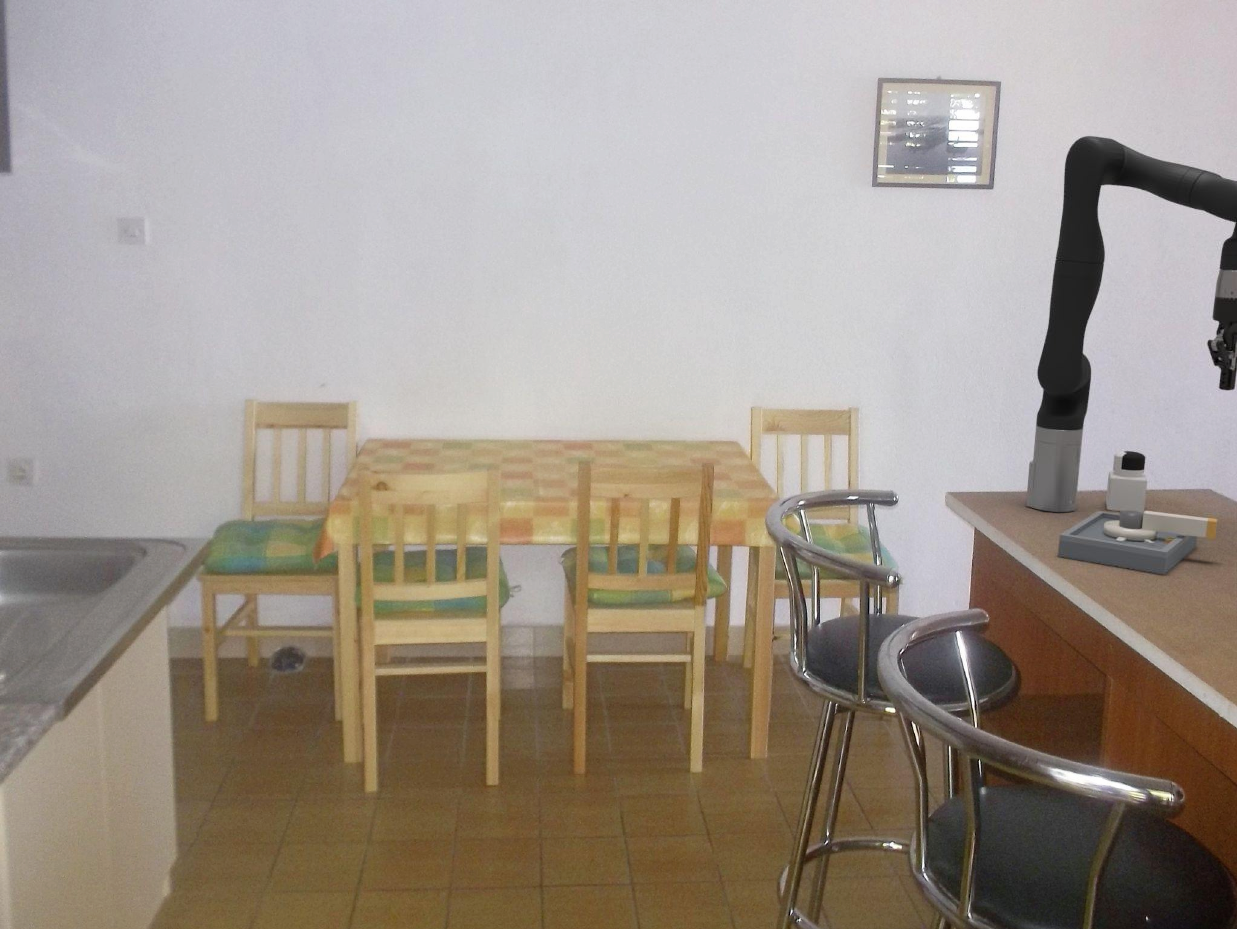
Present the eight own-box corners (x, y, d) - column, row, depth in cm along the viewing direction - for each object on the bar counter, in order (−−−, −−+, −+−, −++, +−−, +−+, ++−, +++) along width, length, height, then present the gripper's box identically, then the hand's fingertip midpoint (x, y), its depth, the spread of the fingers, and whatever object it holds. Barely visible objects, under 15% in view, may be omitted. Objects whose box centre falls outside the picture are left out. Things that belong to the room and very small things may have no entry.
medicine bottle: (1141, 506, 261) (1147, 450, 258) (1143, 513, 254) (1150, 456, 252) (1105, 503, 263) (1111, 448, 261) (1107, 510, 256) (1112, 454, 254)
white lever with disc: (1100, 536, 222) (1102, 511, 221) (1107, 525, 230) (1109, 502, 229) (1212, 551, 213) (1215, 525, 212) (1215, 539, 221) (1218, 515, 220)
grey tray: (1057, 556, 220) (1059, 534, 219) (1096, 530, 239) (1098, 510, 238) (1164, 574, 210) (1166, 552, 209) (1195, 546, 229) (1198, 525, 228)
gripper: (1238, 297, 217) (1226, 394, 220) (1277, 296, 224) (1265, 390, 228) (1197, 294, 223) (1187, 389, 226) (1237, 293, 230) (1226, 385, 234)
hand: (1226, 389), depth 227 cm, fingers closed
